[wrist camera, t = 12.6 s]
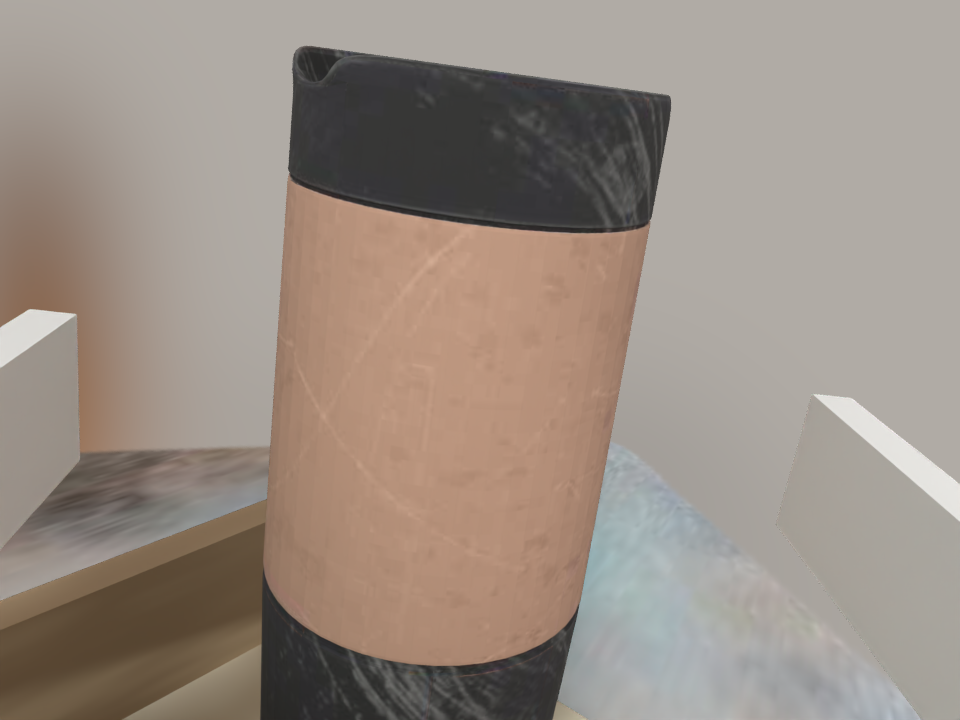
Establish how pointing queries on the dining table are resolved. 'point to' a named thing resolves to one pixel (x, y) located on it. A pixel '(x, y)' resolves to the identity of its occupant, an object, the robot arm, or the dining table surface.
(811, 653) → the dining table surface
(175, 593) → the corner tray
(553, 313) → the travel mug
